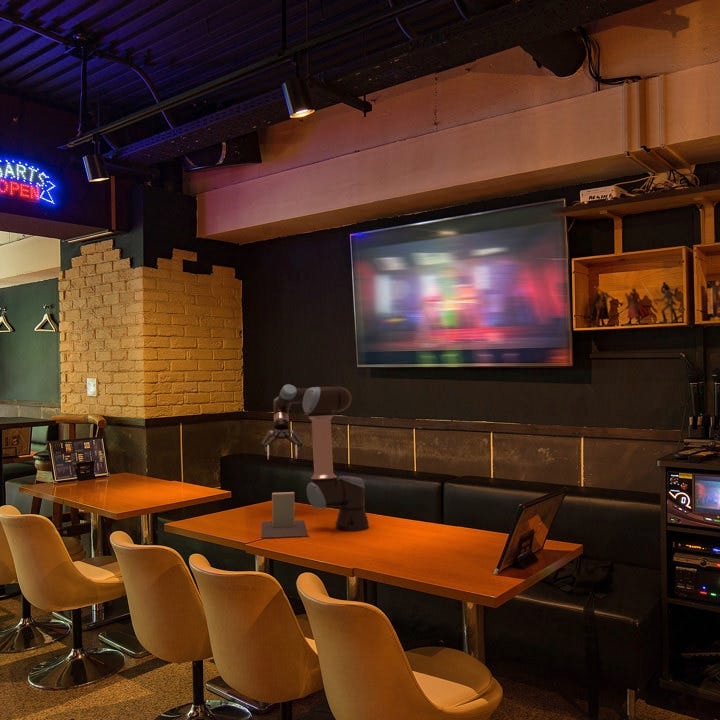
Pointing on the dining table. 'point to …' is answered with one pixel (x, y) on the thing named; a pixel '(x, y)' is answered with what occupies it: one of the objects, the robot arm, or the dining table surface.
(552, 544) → the dining table surface
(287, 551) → the dining table surface
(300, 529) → the mat
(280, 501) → the tile
